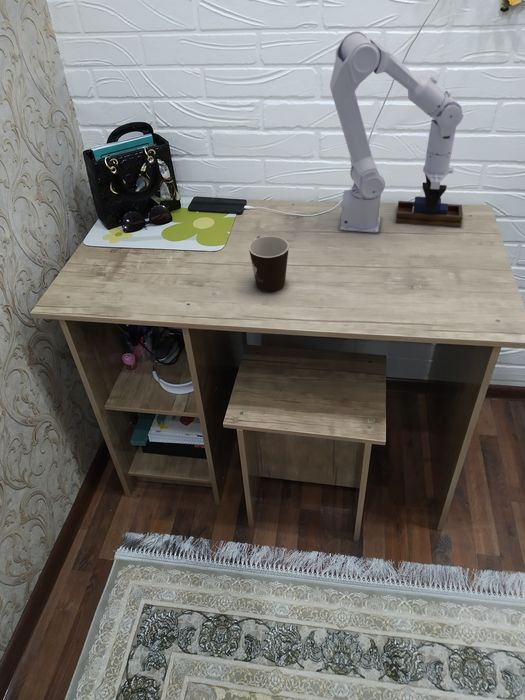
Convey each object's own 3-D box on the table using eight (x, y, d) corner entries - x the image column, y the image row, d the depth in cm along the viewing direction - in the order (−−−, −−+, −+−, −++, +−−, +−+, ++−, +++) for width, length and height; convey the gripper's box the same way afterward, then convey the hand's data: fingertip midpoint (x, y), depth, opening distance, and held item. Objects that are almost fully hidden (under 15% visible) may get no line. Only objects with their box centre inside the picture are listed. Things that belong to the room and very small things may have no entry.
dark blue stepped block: (411, 216, 146) (413, 203, 144) (412, 209, 149) (414, 195, 147) (446, 219, 145) (449, 205, 142) (446, 211, 147) (449, 198, 145)
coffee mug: (288, 296, 126) (287, 258, 119) (249, 295, 127) (246, 257, 120) (292, 266, 134) (291, 229, 127) (255, 265, 135) (253, 228, 128)
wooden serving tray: (395, 222, 146) (396, 214, 145) (397, 207, 152) (398, 199, 150) (460, 227, 143) (462, 218, 141) (460, 212, 149) (461, 203, 147)
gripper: (457, 164, 130) (446, 218, 139) (456, 139, 140) (447, 190, 149) (425, 162, 131) (417, 215, 140) (426, 137, 141) (419, 188, 151)
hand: (430, 202), depth 145 cm, fingers open, 7 cm apart
